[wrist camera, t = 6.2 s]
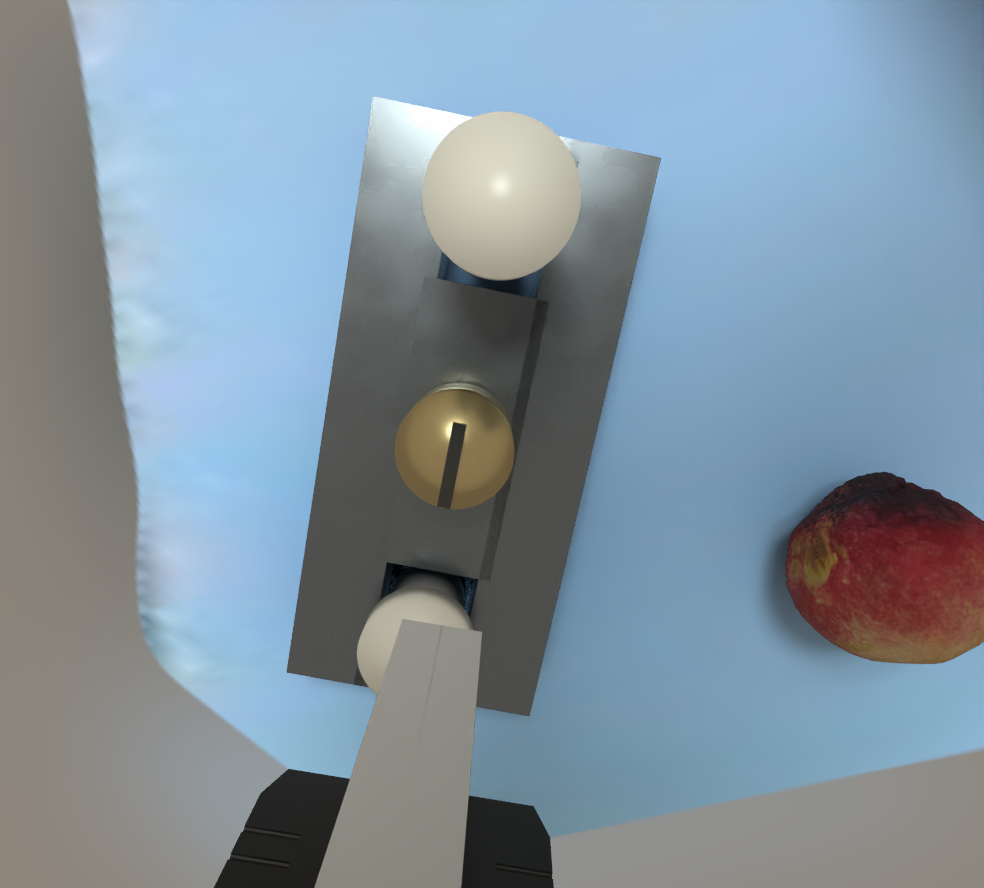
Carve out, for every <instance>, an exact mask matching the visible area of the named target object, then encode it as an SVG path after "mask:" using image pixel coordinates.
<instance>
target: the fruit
mask: <svg viewBox="0 0 984 888" xmlns="http://www.w3.org/2000/svg"><path fill="white" fill-rule="evenodd" d="M785 569H786V575H785V576H786V578H787V581H786V584H787V588H788V590H789V593H790V595H791V597H792V599H793V602H794V604H795V607H796V608H797V610H798V611H799V613H800V614H801V615H802V617H803V618H804V619H805V620H806V621H807V622H808V623H809V624H810V625H811V626H812V627H813V628H814V629H815V630H816V631H817V632H818V633H819V634H821V635H822V636H823V637H825V638H826V639H827V640H829V641H830V642H832V643H833V644H835V645H837V646H838V647H840V648H842V649H843V650H845V651H847V652H848V653H851V654H853V655H856V656H859V657H862V658H865V659H869V660H871V661H879V662H891V663H911V664H936V663H943V662H946V661H949V660H951V659H954V658H956V657H958V656H960V655H962V654H963V653H965V652H967V651H969V650H971V649H973V648H975V647H976V646H978V645H980V644H981V643H983V641H984V521H982V520H981V519H979V518H978V517H976V516H975V515H974V514H973V513H971V512H970V511H969V510H967V509H966V508H964V507H963V506H962V505H960V504H959V503H957V502H955V501H952V500H949V499H947V498H944V497H943V496H942V495H941V494H940V493H939V492H937V491H935V490H929V489H923V488H921V487H919V486H917V485H915V484H913V483H906V481H905V479H904V478H901V477H897V476H895V475H893V474H892V473H887V472H881V473H877V472H876V473H872V474H866V475H864V476H857V477H855V478H854V479H852V480H850V481H847V482H845V484H844V485H842V486H839V487H837V488H835V489H834V490H833V491H832V492H831V493H829V494H828V496H826V497H825V498H824V500H823V501H822V502H821V503H820V504H818V505H817V507H816V508H815V509H814V511H813V512H812V513H811V514H810V515H809V516H808V517H807V518H805V519H804V520H803V521H802V522H801V523H800V524H799V525H798V526H797V527H796V528H795V530H794V531H793V533H792V535H791V538H790V541H789V543H788V549H787V555H786V563H785Z"/></svg>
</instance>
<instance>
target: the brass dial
mask: <svg viewBox="0 0 984 888" xmlns="http://www.w3.org/2000/svg"><path fill="white" fill-rule="evenodd" d="M395 460H396V465H397V468H398V471H399V473H400V476H401V478H402V479H403V481H404V482H405V484H406V485H407V487H408V488H409V489H410V490H411V491H412V492H413V493H414V494H415V495H416V496H418V497H419V498H420V499H422V500H423V501H425V502H427V503H429V504H431V505H434V506H436V507H440V508H445V509H466V508H470V507H474V506H477V505H479V504H481V503H483V502H485V501H487V500H489V499H490V498H491V497H493V496H494V495H495V494H496V493H497V492H498V491H499V490H500V489H501V488H502V486H503V485H504V484H505V482H506V481H507V479H508V477H509V475H510V472H511V470H512V466H513V462H514V441H513V434H512V426H511V422H510V419H509V416H508V414H507V412H506V410H505V408H504V407H503V405H502V404H501V403H500V401H499V400H498V399H497V398H496V397H495V396H494V395H492V394H491V393H490V392H488V391H486V390H485V389H483V388H481V387H478V386H476V385H472V384H468V383H448V384H444V385H440V386H438V387H436V388H434V389H432V390H430V391H428V392H427V393H426V394H424V395H423V396H422V397H421V398H420V399H419V400H418V401H417V402H416V404H415V405H414V406H413V408H412V409H411V410H410V411H409V413H408V414H407V415H406V417H405V418H404V419H403V421H402V423H401V425H400V427H399V429H398V432H397V436H396V440H395Z"/></svg>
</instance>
